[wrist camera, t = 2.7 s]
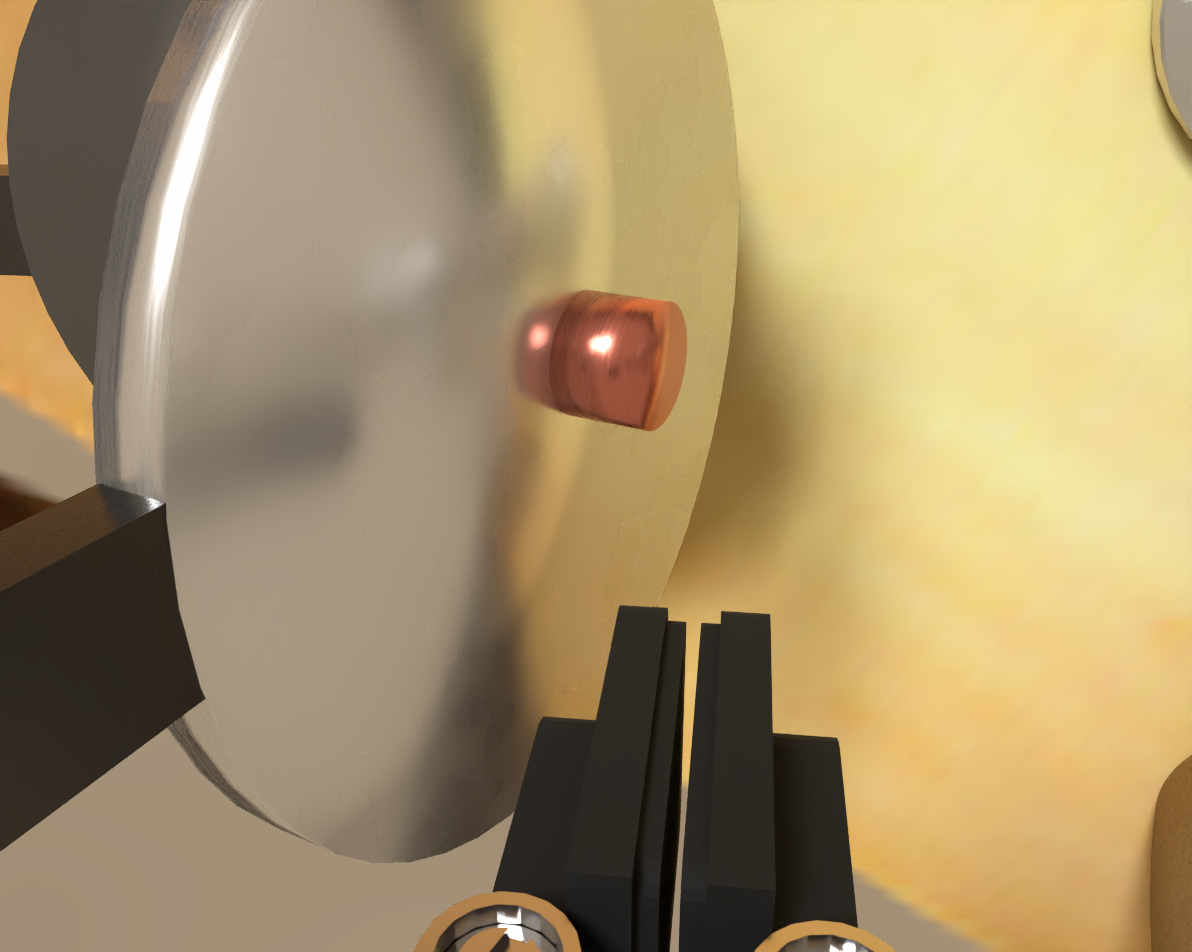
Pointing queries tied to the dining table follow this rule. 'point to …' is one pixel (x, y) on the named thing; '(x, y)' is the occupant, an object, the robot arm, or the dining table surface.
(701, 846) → the robot arm
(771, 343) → the dining table surface
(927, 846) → the dining table surface
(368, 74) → the cooker lid
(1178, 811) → the plant pot
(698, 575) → the dining table surface
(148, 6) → the cooker pot
